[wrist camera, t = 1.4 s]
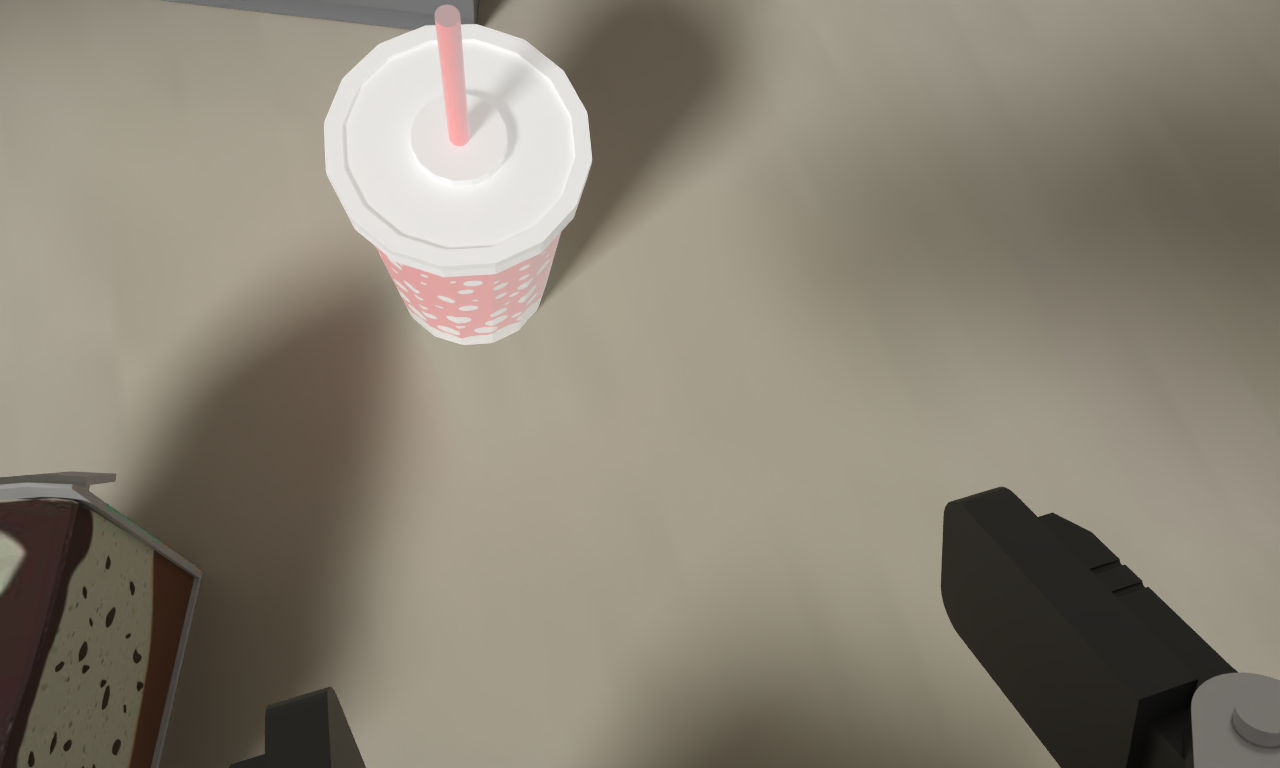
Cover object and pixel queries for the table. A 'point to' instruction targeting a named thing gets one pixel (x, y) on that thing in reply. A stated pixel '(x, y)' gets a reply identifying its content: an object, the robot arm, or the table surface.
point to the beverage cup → (460, 171)
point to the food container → (86, 628)
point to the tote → (356, 10)
